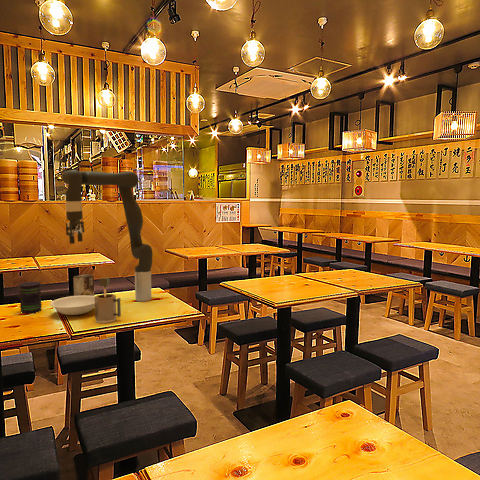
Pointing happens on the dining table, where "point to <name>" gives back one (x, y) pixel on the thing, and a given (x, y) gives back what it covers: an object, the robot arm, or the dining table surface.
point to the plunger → (104, 283)
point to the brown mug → (107, 308)
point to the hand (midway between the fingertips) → (76, 242)
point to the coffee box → (83, 285)
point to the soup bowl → (74, 304)
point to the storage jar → (30, 297)
